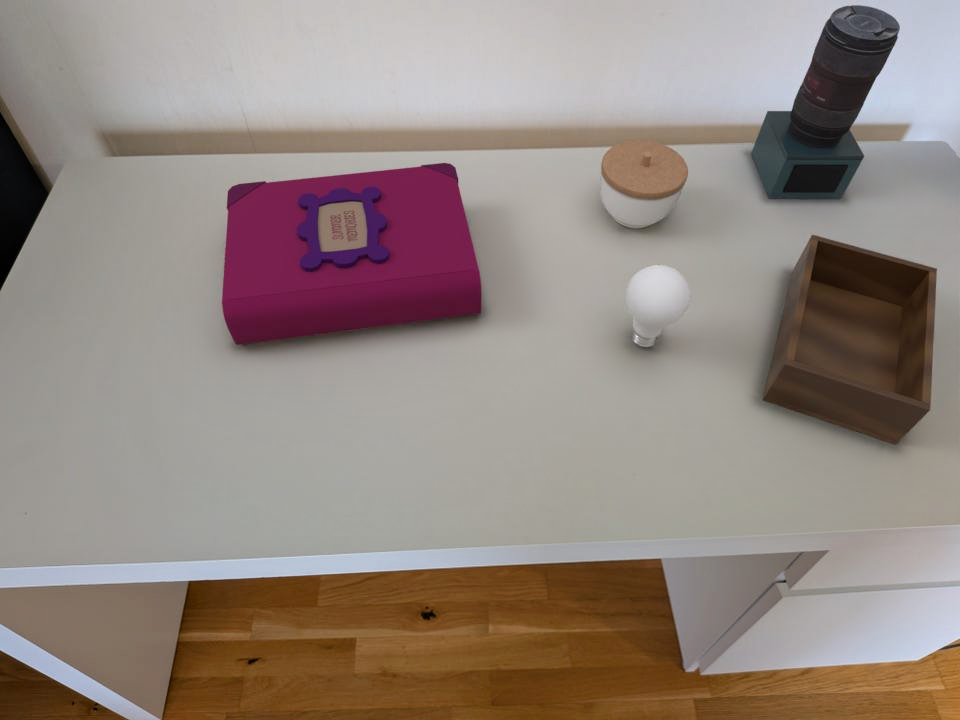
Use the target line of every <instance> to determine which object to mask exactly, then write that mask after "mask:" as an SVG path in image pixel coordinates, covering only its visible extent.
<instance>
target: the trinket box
mask: <svg viewBox="0 0 960 720" xmlns="http://www.w3.org/2000/svg"><path fill="white" fill-rule="evenodd" d="M688 176H689V167H688V164H687V162H686V161H685V159H684V158H683V156H682V155H681V154H680V153H678V151H676V150H674V149H673V148H671V147H670V146H667V145H665V144H663V143H659V142H656V141H652V140H644V139H634V140H633V139H632V140H627V141H623V142H620V143H617V144H615V145H613V146H612V147H610V148H609V149H608V150H606V152H605V153H604V154H603V157H602V158H601V164H600V176H599V194H600V200H601V202H602V205H603V207H604V209H605V210H606V211H607V213H608V214H609V216H611V217H612V219H613V220H614V221H615V222H616V223H617V224H619V225H621V226H622V227H626V228H628V229H629V228H630V229H644V228H645V229H646V228H648V227H650V226H651V225H654V224H656V223H658V222H660V221H661V220H663V219H664V218H666V217H667V216H668V215H669V214H670V213H671V212H672V211H673V209H674V208H675V207H676V204H677V203H678V200H679V199H680V197H681V194H682V192H683V189H684V186H685V184H686V182H687V179H688Z"/></svg>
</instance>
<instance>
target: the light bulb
mask: <svg viewBox="0 0 960 720" xmlns="http://www.w3.org/2000/svg"><path fill="white" fill-rule="evenodd" d="M690 301H691V289H690V286H689V283H688V281H687V279H686V278H685V276H683V274H682V273H680V272H679V271H678V270H677V269H675V268H673V267H671V266H670V265H669V266H668V265H665V264H653V265H649V266H646V267H644V268H642V269H640V270H639V271H637V272H636V273H635V274H634V275H633V276H632V277H631V279H630V280H629V281H628V284H627V286H626V291H625V306H626V308H627V310H628V312H629V314H630V316H631V317H632V326H633V328H632V330H631V336H630V337H631V340H632V342H633V343H635V344H636V345H637V346H639V347H642V348H650V347H652V346H654V345H656V344H657V343H658V341H659V339H660V338H659V337H660V335H661V334H662V333H663V331H664V329H665V328H667V327H669V326H671V325H674V324H676V323H677V322H679V320H681V318H683V317H684V315H685V314H686V312H687V310H688V308H689V306H690Z"/></svg>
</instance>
